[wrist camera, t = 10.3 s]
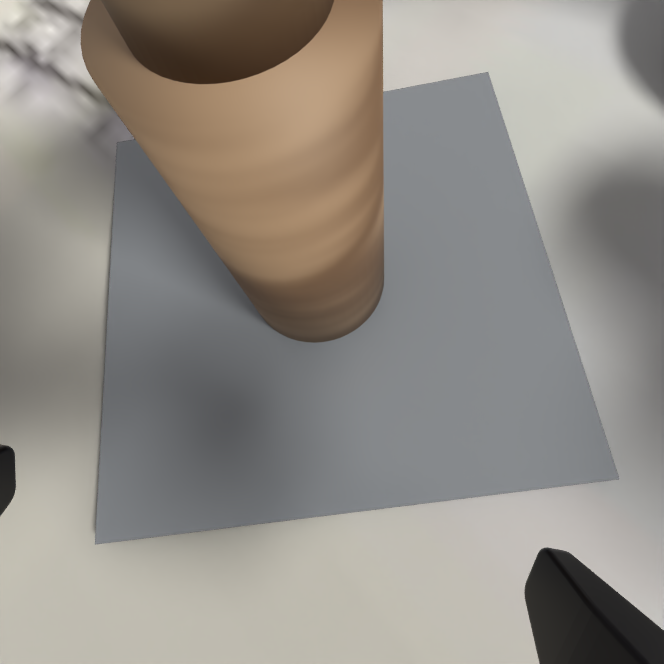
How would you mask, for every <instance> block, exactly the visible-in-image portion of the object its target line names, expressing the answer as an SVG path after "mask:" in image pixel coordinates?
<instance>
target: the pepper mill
mask: <svg viewBox="0 0 664 664" xmlns="http://www.w3.org/2000/svg"><path fill="white" fill-rule="evenodd" d="M81 49H82V56H83V59H84V62H85V65H86V68H87V70H88V72H89V74H90V75H91V77H92V79H93V80H94V82H95V84H96V85H97V86H98V88H99V89H100V91H101V92H102V93H103V95H104V96H105V98H106V99H107V100H108V102H109V103H110V105H111V106H112V107H113V109H114V110H115V112H116V113H117V114H118V116H119V117H120V119H121V120H122V121H123V123H124V124H125V126H126V127H127V128H128V130H129V131H130V133H131V134H132V135H133V137H134V138H135V140H136V141H137V142H138V144H139V145H140V147H141V148H142V149H143V151H144V152H145V154H146V155H147V156H148V158H149V159H150V161H151V162H152V163H153V165H154V166H155V168H156V169H157V170H158V172H159V173H160V175H161V176H162V177H163V179H164V180H165V182H166V183H167V184H168V186H169V187H170V189H171V190H172V191H173V193H174V194H175V196H176V197H177V198H178V200H179V201H180V203H181V204H182V205H183V207H184V208H185V210H186V211H187V212H188V214H189V215H190V217H191V218H192V219H193V221H194V222H195V224H196V225H197V226H198V228H199V229H200V231H201V232H202V233H203V235H204V236H205V238H206V239H207V240H208V242H209V243H210V245H211V246H212V248H213V249H214V250H215V252H216V253H217V255H218V256H219V257H220V259H221V260H222V262H223V263H224V264H225V266H226V267H227V269H228V270H229V271H230V273H231V274H232V276H233V277H234V278H235V280H236V281H237V283H238V284H239V285H240V287H241V288H242V290H243V291H244V292H245V294H246V295H247V297H248V298H249V299H250V301H251V302H252V304H253V305H254V306H255V308H256V309H257V311H258V312H259V313H260V315H261V316H262V318H263V319H264V320H265V321H266V322H267V324H268V325H270V326H271V327H272V328H273V329H274V330H276V331H277V332H279V333H280V334H282V335H284V336H286V337H288V338H291V339H294V340H297V341H302V342H312V343H317V342H326V341H331V340H335V339H338V338H341V337H343V336H345V335H347V334H349V333H351V332H353V331H354V330H356V329H357V328H359V327H360V326H361V325H362V324H363V323H365V321H366V320H367V319H368V318H369V317H370V316H371V315H372V313H373V312H374V310H375V309H376V307H377V305H378V303H379V301H380V298H381V295H382V292H383V287H384V158H383V0H91V1H90V2H89V5H88V8H87V10H86V13H85V16H84V20H83V24H82V29H81Z"/></svg>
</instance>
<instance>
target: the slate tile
mask: <svg viewBox="0 0 664 664" xmlns="http://www.w3.org/2000/svg"><path fill="white" fill-rule="evenodd" d="M383 158H384V287H383V292H382V295H381V298H380V301H379V303H378V305H377V307H376V309H375V310H374V312H373V313H372V315H371V316H370V317H369V318H368V319H367V320H366V321H365V323H363V324H362V325H361V326H360V327H359V328H357V329H356V330H354V331H353V332H351V333H349V334H347V335H345V336H343V337H341V338H338V339H335V340H331V341H326V342H317V343H312V342H302V341H297V340H294V339H291V338H288V337H286V336H284V335H282V334H280V333H279V332H277V331H276V330H274V329H273V328H272V327H271V326H270V325H268V324H267V322H266V321H265V320H264V319H263V318H262V316H261V315H260V313H259V312H258V311H257V309H256V308H255V306H254V305H253V304H252V302H251V301H250V299H249V298H248V297H247V295H246V294H245V292H244V291H243V290H242V288H241V287H240V285H239V284H238V283H237V281H236V280H235V278H234V277H233V276H232V274H231V273H230V271H229V270H228V269H227V267H226V266H225V264H224V263H223V262H222V260H221V259H220V257H219V256H218V255H217V253H216V252H215V250H214V249H213V248H212V246H211V245H210V243H209V242H208V240H207V239H206V238H205V236H204V235H203V233H202V232H201V231H200V229H199V228H198V226H197V225H196V224H195V222H194V221H193V219H192V218H191V217H190V215H189V214H188V212H187V211H186V210H185V208H184V207H183V205H182V204H181V203H180V201H179V200H178V198H177V197H176V196H175V194H174V193H173V191H172V190H171V189H170V187H169V186H168V184H167V183H166V182H165V180H164V179H163V177H162V176H161V175H160V173H159V172H158V170H157V169H156V168H155V166H154V165H153V163H152V162H151V161H150V159H149V158H148V156H147V155H146V154H145V152H144V151H143V149H142V148H141V147H140V145H139V144H138V142H137V141H136V140H135V139H133V140H128V141H123V142H118V143H117V153H116V171H115V189H114V208H113V226H112V244H111V262H110V280H109V298H108V316H107V335H106V353H105V371H104V389H103V407H102V425H101V443H100V462H99V480H98V498H97V516H96V534H95V544H103V543H111V542H119V541H127V540H135V539H143V538H151V537H159V536H167V535H175V534H183V533H191V532H199V531H207V530H215V529H223V528H231V527H239V526H247V525H255V524H263V523H271V522H279V521H287V520H295V519H303V518H311V517H320V516H328V515H336V514H344V513H352V512H360V511H368V510H376V509H384V508H392V507H400V506H408V505H416V504H424V503H432V502H440V501H448V500H456V499H464V498H472V497H480V496H488V495H496V494H504V493H512V492H520V491H528V490H536V489H544V488H552V487H561V486H569V485H577V484H585V483H593V482H601V481H609V480H617V479H619V476H618V473H617V470H616V467H615V464H614V461H613V458H612V454H611V451H610V448H609V445H608V442H607V439H606V436H605V433H604V430H603V427H602V423H601V420H600V417H599V414H598V411H597V408H596V405H595V402H594V399H593V396H592V393H591V389H590V386H589V383H588V380H587V377H586V374H585V371H584V368H583V365H582V362H581V358H580V355H579V352H578V349H577V346H576V343H575V340H574V337H573V334H572V331H571V327H570V324H569V321H568V318H567V315H566V312H565V309H564V306H563V303H562V300H561V297H560V293H559V290H558V287H557V284H556V281H555V278H554V275H553V272H552V269H551V266H550V262H549V259H548V256H547V253H546V250H545V247H544V244H543V241H542V238H541V235H540V231H539V228H538V225H537V222H536V219H535V216H534V213H533V210H532V207H531V204H530V201H529V197H528V194H527V191H526V188H525V185H524V182H523V179H522V176H521V173H520V170H519V166H518V163H517V160H516V157H515V154H514V151H513V148H512V145H511V142H510V139H509V135H508V132H507V129H506V126H505V123H504V120H503V117H502V114H501V111H500V108H499V105H498V101H497V98H496V95H495V92H494V89H493V86H492V83H491V80H490V77H489V74H488V72H485V73H480V74H475V75H470V76H464V77H459V78H454V79H449V80H443V81H438V82H433V83H428V84H422V85H417V86H412V87H407V88H401V89H396V90H391V91H386V92H383Z"/></svg>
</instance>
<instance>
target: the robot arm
mask: <svg viewBox="0 0 664 664" xmlns="http://www.w3.org/2000/svg"><path fill="white" fill-rule="evenodd" d="M15 488H16V479H15V453H14V451H13V449H12V448H11V447H9V446H6V445H1V444H0V516H1V514H2V513H3V512H4V510H5V509H6V508H7V506H8V505H9V504H10V502H11V500H12V498H13V496H14V493H15ZM525 601H526V605H527V610H528V614H529V619H530V623H531V628H532V632H533V636H534V641H535V645H536V650H537V654H538V659H539V663H540V664H664V630H662V629H661V628H660V627H659V626H658V625H656V624H655V623H654V622H653V621H652V620H650V619H649V618H648V617H647V616H645V615H644V614H643V613H642V612H641V611H639V610H638V609H637V608H636V607H635V606H633V605H632V604H631V603H630V602H629V601H627V600H626V599H625V598H624V597H622V596H621V595H620V594H619V593H618V592H616V591H615V590H614V589H613V588H612V587H610V586H609V585H608V584H607V583H606V582H604V581H603V580H602V579H601V578H600V577H598V576H597V575H596V574H595V573H593V572H592V571H591V570H590V569H589V568H587V567H586V566H585V565H584V564H583V563H581V562H580V561H579V560H578V559H577V558H575V557H574V556H573V555H572V554H570V553H569V552H566V551H563V550H558V549H552V548H543V549H541V550H540V551H539V553H538V555H537V557H536V560H535V562H534V564H533V567H532V569H531V572H530V574H529V576H528V579H527V581H526V585H525Z"/></svg>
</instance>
